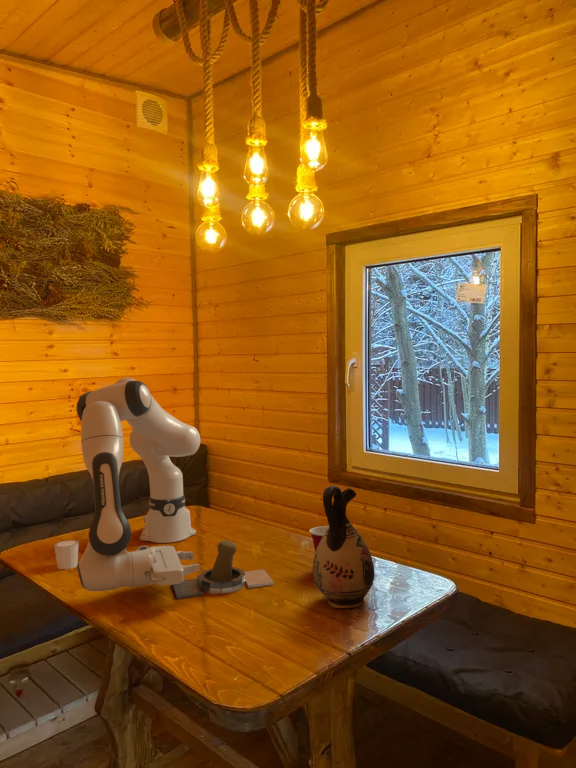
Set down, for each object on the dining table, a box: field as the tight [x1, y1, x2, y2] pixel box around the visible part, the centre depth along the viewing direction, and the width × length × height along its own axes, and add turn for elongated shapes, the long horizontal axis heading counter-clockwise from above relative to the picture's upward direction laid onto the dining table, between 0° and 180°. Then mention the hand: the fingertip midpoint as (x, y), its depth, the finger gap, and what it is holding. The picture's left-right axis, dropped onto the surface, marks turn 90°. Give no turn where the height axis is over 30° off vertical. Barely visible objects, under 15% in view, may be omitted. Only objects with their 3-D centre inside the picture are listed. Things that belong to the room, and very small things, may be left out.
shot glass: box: [53, 539, 79, 570], centre depth 186 cm, size 7×7×7 cm
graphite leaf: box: [171, 566, 245, 600], centre depth 167 cm, size 12×19×3 cm, turn 108°
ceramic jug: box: [312, 485, 376, 609], centre depth 154 cm, size 17×15×30 cm
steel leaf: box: [202, 569, 274, 595], centre depth 170 cm, size 12×19×1 cm, turn 108°
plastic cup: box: [308, 525, 329, 553], centre depth 177 cm, size 11×11×12 cm
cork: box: [209, 540, 238, 582], centre depth 169 cm, size 6×6×11 cm
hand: (196, 560), depth 166 cm, fingers open, 8 cm apart
